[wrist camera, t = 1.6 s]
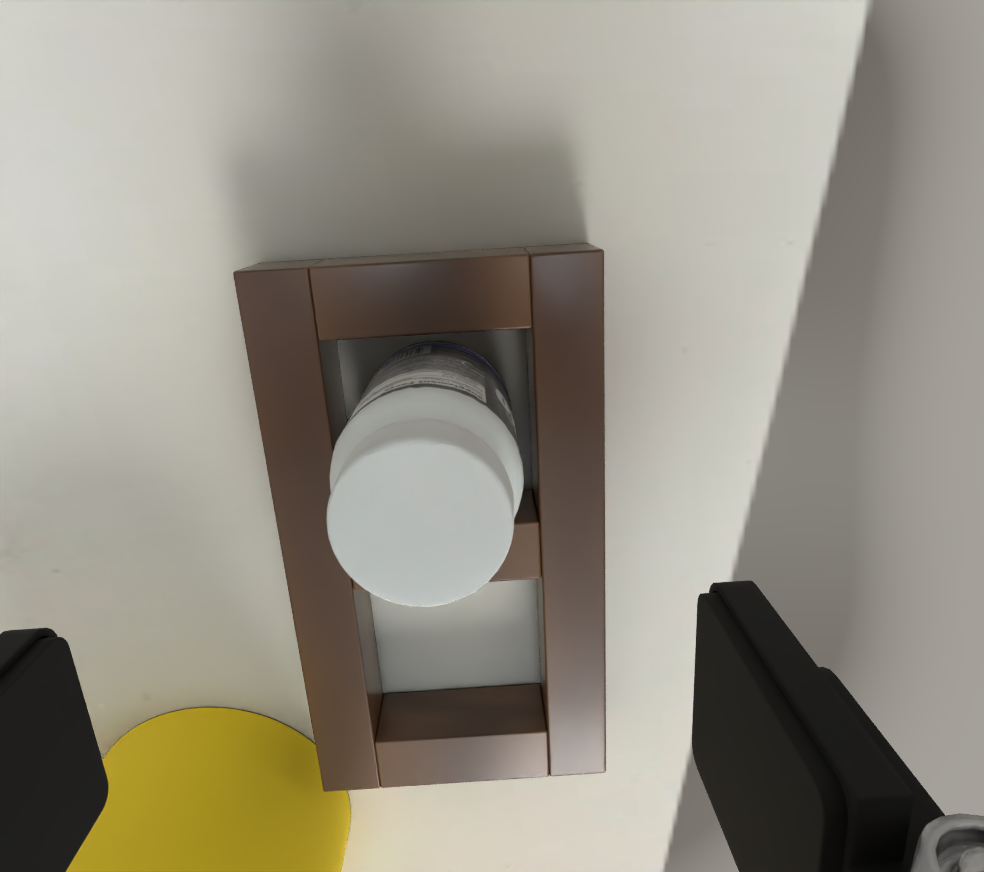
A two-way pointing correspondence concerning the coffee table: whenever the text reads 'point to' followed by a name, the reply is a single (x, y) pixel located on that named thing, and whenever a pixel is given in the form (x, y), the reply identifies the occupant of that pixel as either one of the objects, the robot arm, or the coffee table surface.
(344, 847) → the yellow toilet paper roll
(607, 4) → the coffee table surface
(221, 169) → the coffee table surface
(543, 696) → the holder
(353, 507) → the pill bottle
